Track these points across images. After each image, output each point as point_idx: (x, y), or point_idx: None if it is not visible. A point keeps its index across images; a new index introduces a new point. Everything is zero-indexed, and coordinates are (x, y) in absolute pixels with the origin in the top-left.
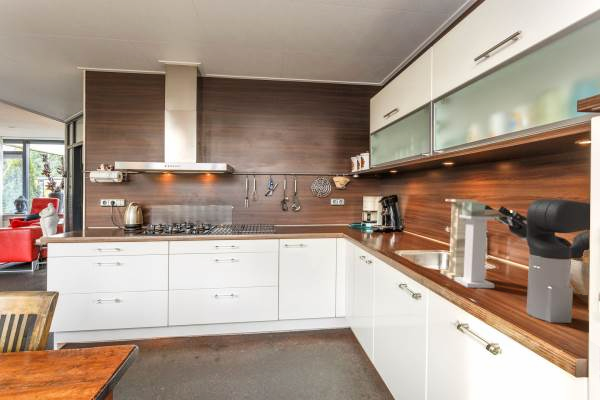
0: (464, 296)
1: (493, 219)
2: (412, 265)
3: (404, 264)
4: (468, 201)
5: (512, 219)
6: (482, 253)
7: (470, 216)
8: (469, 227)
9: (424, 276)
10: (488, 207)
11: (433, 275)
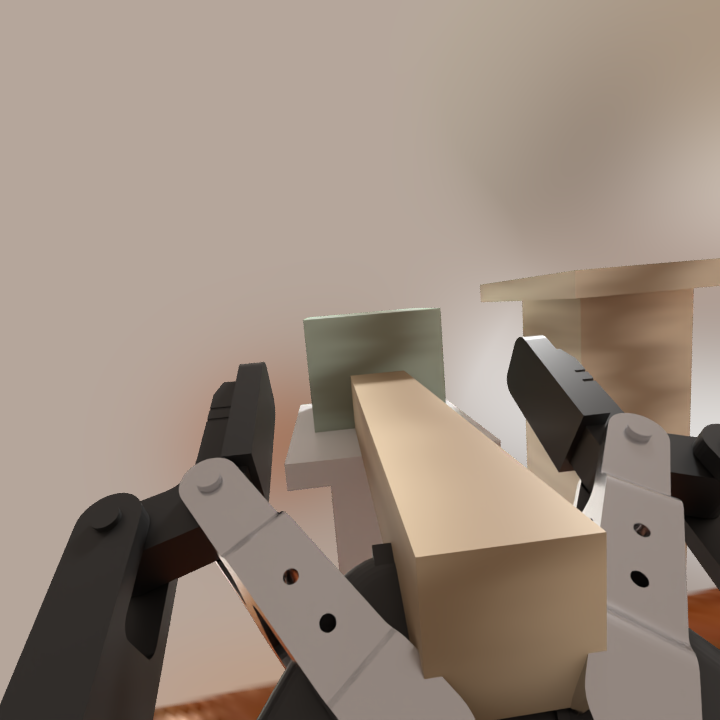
0: (219, 706)
1: (289, 481)
2: (714, 631)
3: (699, 602)
4: (525, 294)
5: (258, 626)
6: None
7: (307, 405)
8: None
9: None
10: (531, 365)
11: None
